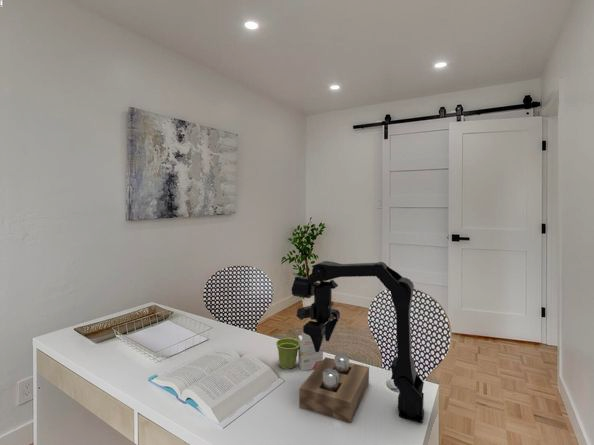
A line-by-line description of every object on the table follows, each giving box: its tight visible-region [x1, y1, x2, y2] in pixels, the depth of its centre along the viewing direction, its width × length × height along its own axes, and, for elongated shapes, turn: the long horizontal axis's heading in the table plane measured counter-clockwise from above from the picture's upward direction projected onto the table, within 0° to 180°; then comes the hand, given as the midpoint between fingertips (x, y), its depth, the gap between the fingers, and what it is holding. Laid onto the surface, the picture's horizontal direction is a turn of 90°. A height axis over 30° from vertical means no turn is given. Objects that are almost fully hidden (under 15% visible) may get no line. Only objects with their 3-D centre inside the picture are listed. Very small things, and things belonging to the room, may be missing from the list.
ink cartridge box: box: [297, 331, 324, 372], centre depth 120 cm, size 9×5×15 cm, turn 105°
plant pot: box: [275, 337, 300, 369], centre depth 121 cm, size 9×9×9 cm
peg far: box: [334, 353, 350, 375], centre depth 107 cm, size 5×5×6 cm
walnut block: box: [298, 356, 370, 424], centre depth 102 cm, size 16×22×6 cm
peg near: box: [323, 369, 339, 392], centre depth 97 cm, size 5×5×6 cm
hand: (322, 346), depth 105 cm, fingers open, 9 cm apart
